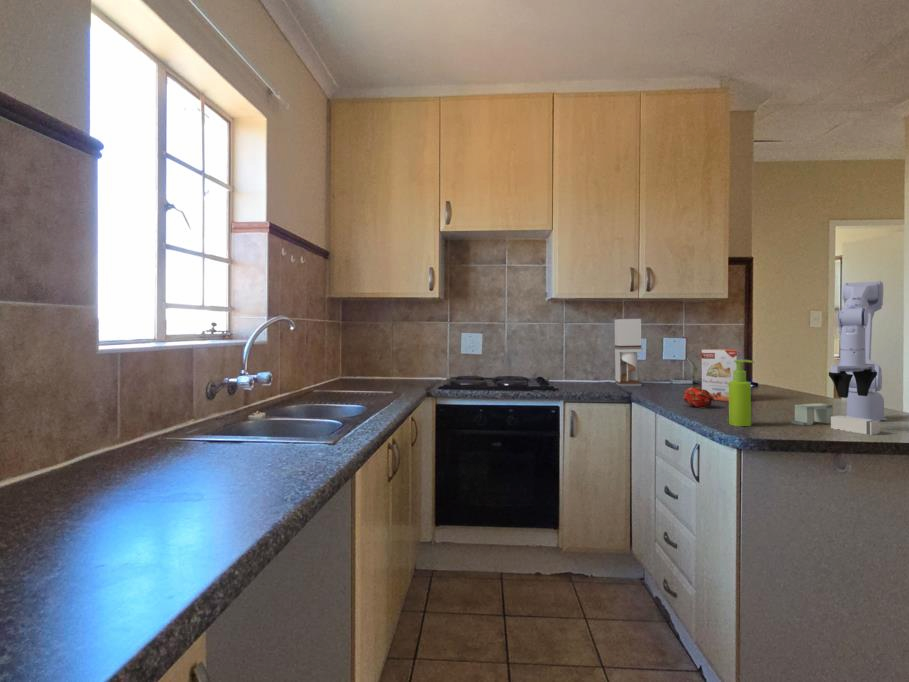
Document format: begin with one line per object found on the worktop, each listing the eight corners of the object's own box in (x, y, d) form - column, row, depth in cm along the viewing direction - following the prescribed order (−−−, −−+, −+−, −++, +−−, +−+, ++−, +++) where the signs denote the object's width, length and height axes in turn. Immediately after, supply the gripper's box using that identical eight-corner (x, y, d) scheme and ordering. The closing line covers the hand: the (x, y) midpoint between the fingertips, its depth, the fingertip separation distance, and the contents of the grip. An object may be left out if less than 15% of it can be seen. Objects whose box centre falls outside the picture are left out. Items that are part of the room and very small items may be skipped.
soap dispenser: (755, 427, 147) (754, 360, 147) (728, 425, 151) (727, 360, 151) (755, 424, 152) (754, 359, 152) (729, 422, 156) (729, 359, 156)
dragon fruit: (683, 408, 193) (712, 417, 183) (673, 397, 189) (702, 406, 179) (693, 390, 195) (722, 398, 184) (684, 379, 191) (713, 386, 180)
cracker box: (701, 399, 207) (700, 349, 206) (708, 397, 210) (707, 348, 210) (737, 402, 196) (736, 349, 195) (743, 401, 199) (743, 349, 199)
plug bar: (839, 427, 146) (839, 415, 146) (879, 433, 137) (879, 420, 136) (830, 428, 144) (830, 416, 144) (871, 435, 135) (871, 422, 135)
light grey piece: (619, 386, 259) (618, 319, 258) (615, 383, 270) (614, 319, 269) (641, 386, 258) (641, 318, 257) (637, 383, 268) (636, 319, 267)
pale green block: (823, 420, 156) (823, 402, 156) (836, 422, 152) (836, 404, 152) (790, 423, 153) (790, 405, 153) (803, 425, 149) (802, 407, 149)
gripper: (856, 348, 149) (856, 393, 149) (819, 350, 145) (820, 396, 145) (882, 349, 142) (882, 396, 142) (844, 351, 138) (844, 399, 138)
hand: (852, 396), depth 143 cm, fingers open, 7 cm apart
